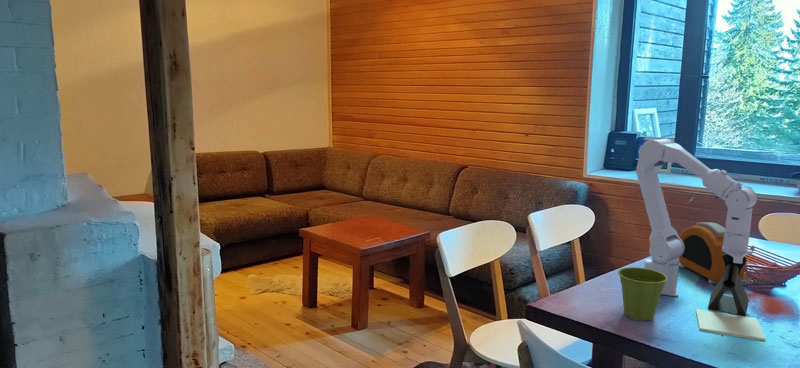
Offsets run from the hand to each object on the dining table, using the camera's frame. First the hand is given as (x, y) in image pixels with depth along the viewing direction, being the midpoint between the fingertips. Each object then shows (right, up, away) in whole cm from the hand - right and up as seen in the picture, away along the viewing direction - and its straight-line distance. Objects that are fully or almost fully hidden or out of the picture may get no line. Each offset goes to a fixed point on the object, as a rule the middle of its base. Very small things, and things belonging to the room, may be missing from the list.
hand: (730, 282), depth 161 cm
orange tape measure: (+9, -3, +30) cm, 32 cm away
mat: (-6, -9, -10) cm, 15 cm away
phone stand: (0, -6, +1) cm, 6 cm away
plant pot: (-27, -8, -5) cm, 29 cm away
